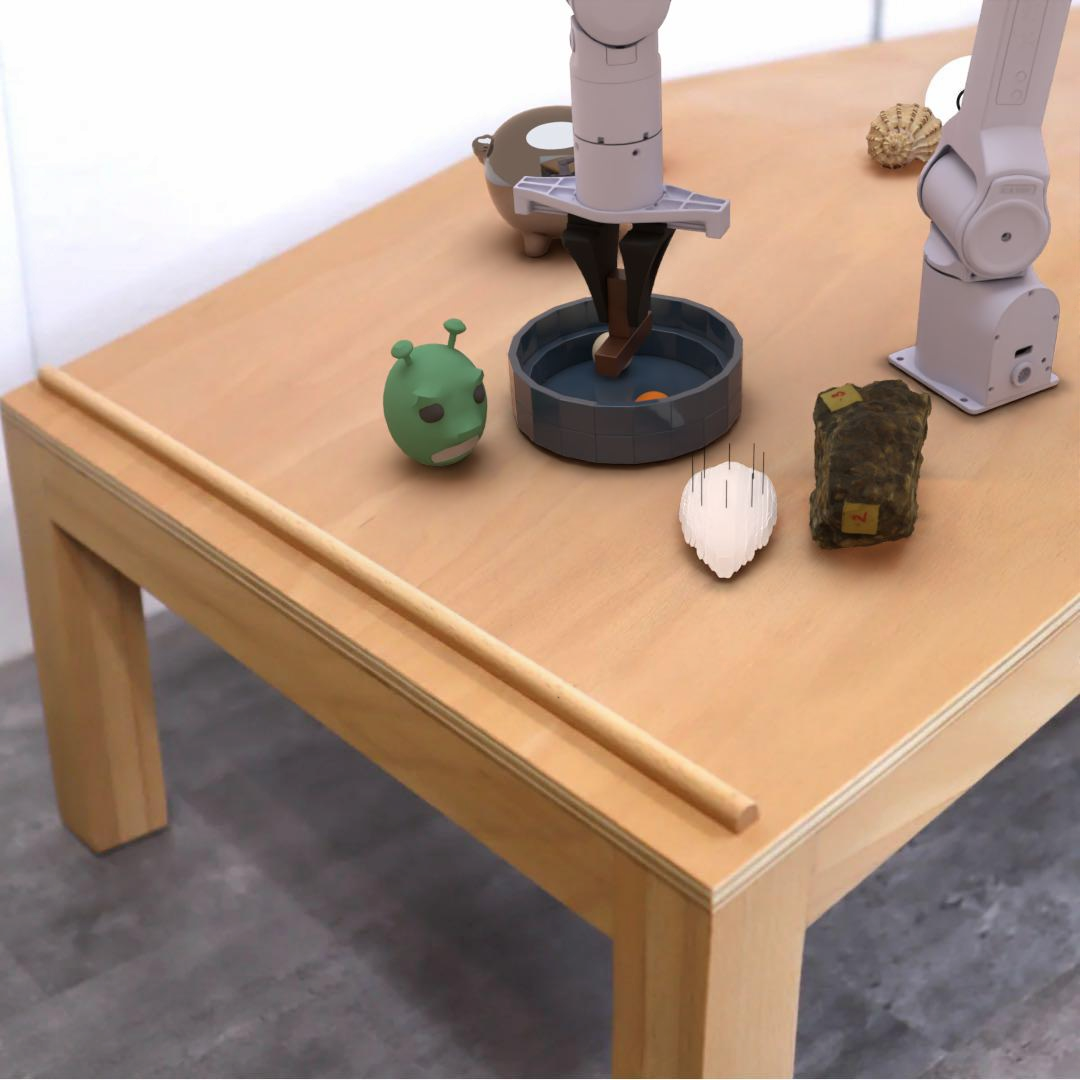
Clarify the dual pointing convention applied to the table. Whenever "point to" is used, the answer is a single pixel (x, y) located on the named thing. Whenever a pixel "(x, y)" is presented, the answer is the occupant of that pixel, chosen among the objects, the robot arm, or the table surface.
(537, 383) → the bowl
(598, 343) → the bead
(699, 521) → the pincushion
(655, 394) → the bead
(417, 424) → the alien toy
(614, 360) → the brown t-shaped block
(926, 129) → the seashell
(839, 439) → the rock
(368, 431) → the table surface
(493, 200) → the piggy bank
